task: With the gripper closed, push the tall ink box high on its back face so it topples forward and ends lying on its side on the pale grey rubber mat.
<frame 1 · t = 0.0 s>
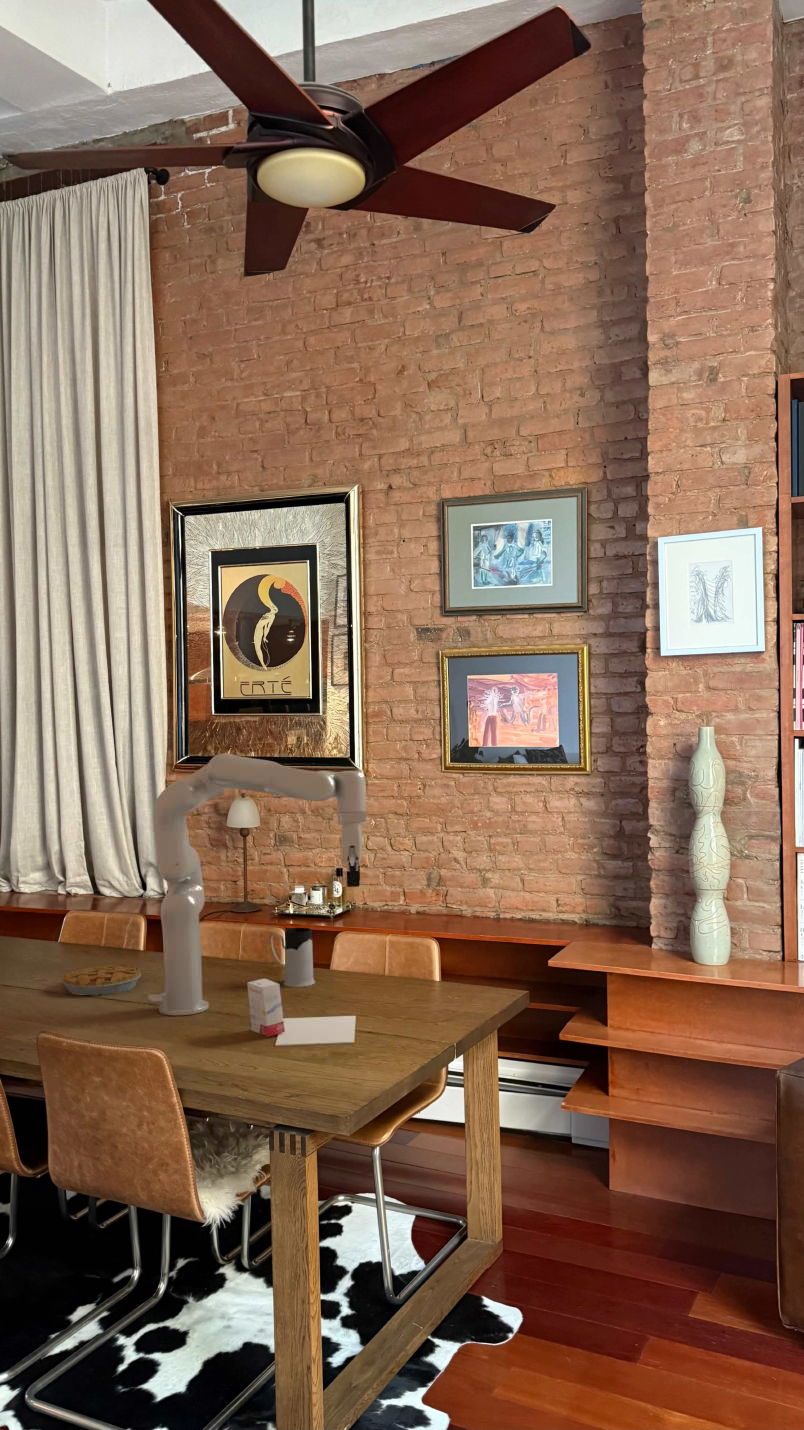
hand: (353, 883, 285), 31 cm above the table, tool pointing down, fingers open, 9 cm apart
pie: (102, 989, 311), on the table
tall grey black mug: (291, 983, 311), on the table
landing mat: (317, 1031, 261), on the table
ink box: (267, 1032, 261), on the table, touching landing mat
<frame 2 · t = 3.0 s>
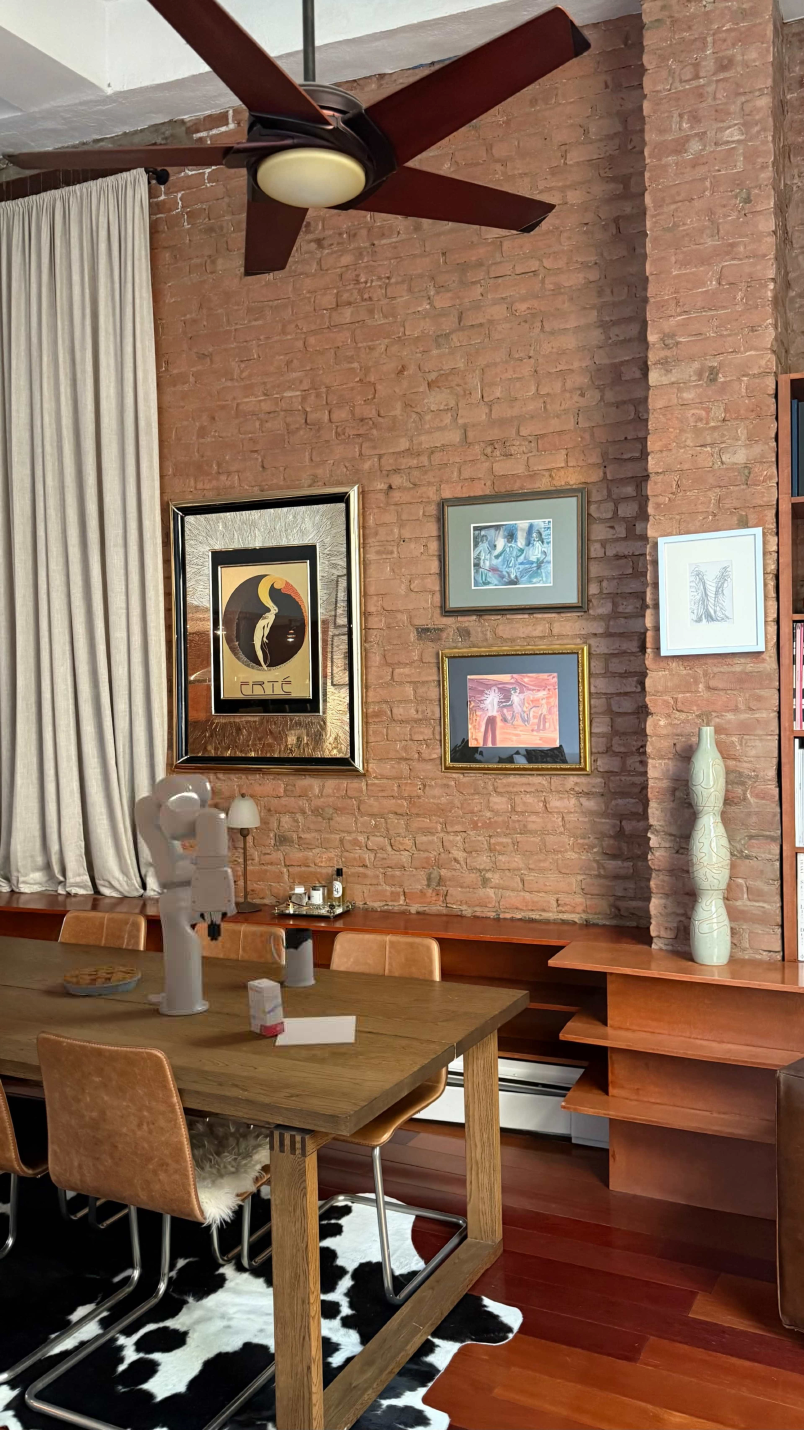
hand: (214, 939, 260), 23 cm above the table, tool pointing down, fingers closed
nothing on the table moved.
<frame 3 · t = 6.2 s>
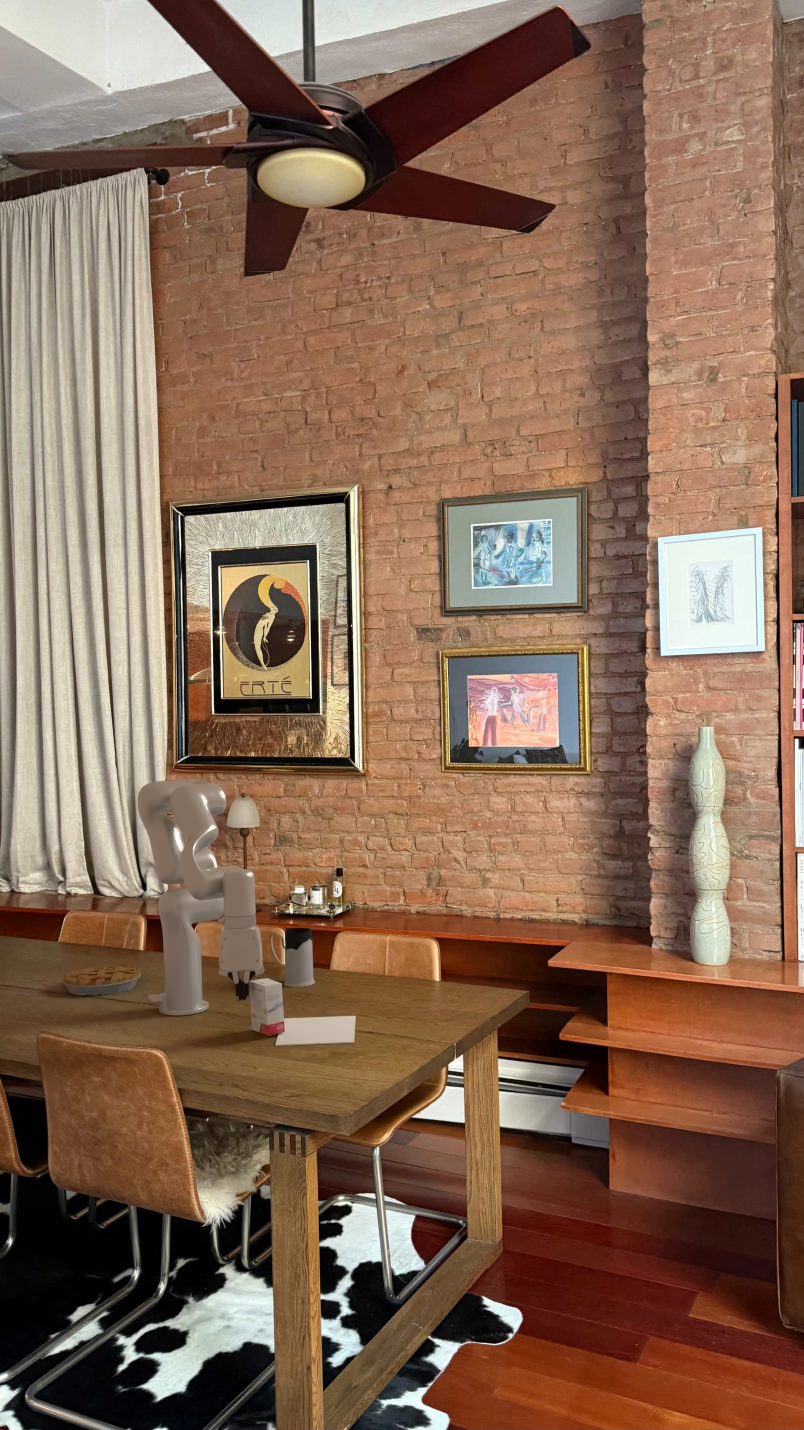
hand: (242, 999, 260), 8 cm above the table, tool pointing down, fingers closed
ink box: (267, 1032, 261), on the table, touching gripper, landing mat
everything else where it was.
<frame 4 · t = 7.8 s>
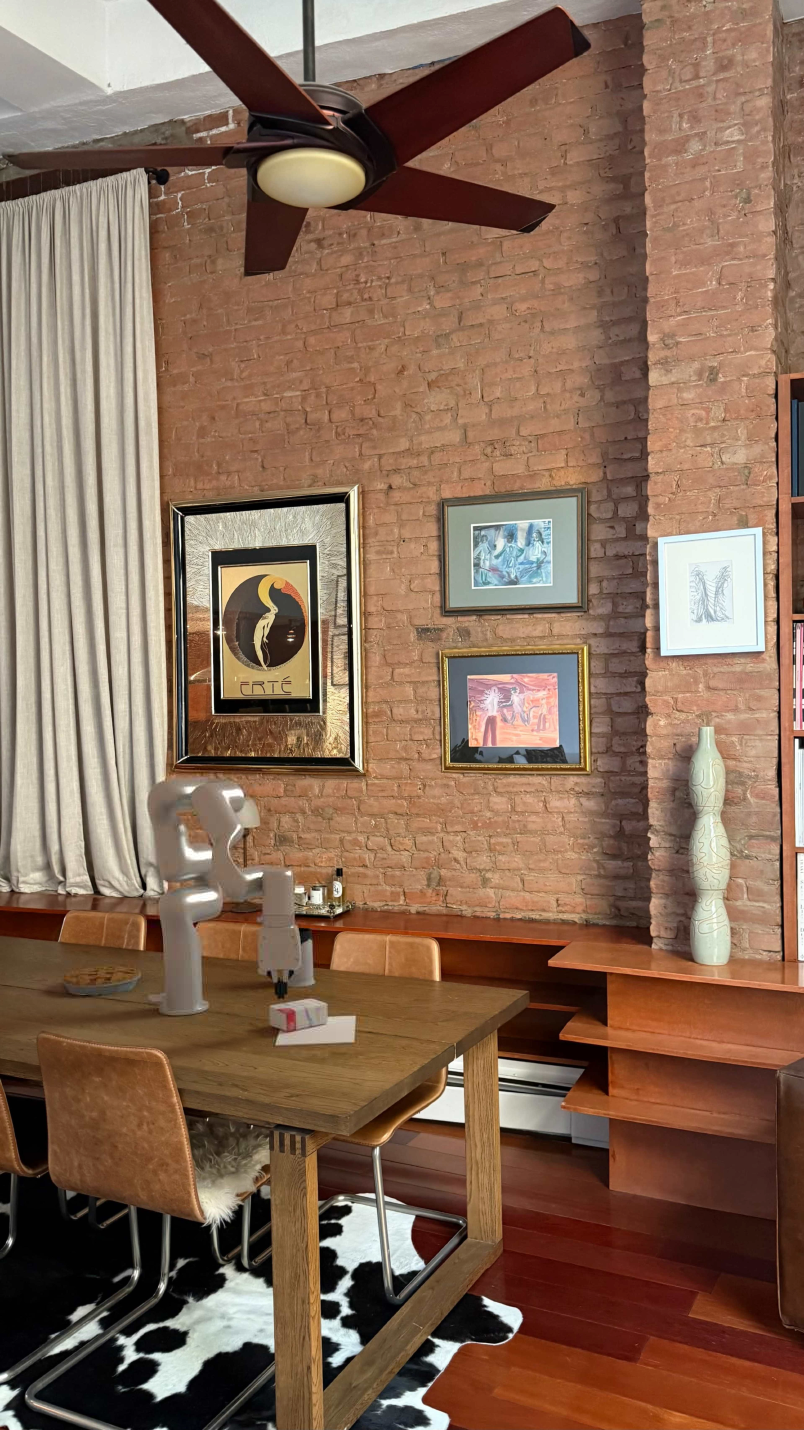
hand: (281, 997, 261), 8 cm above the table, tool pointing down, fingers closed
ink box: (276, 1018, 262), point 3 cm above the table, touching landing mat
everything else where it was.
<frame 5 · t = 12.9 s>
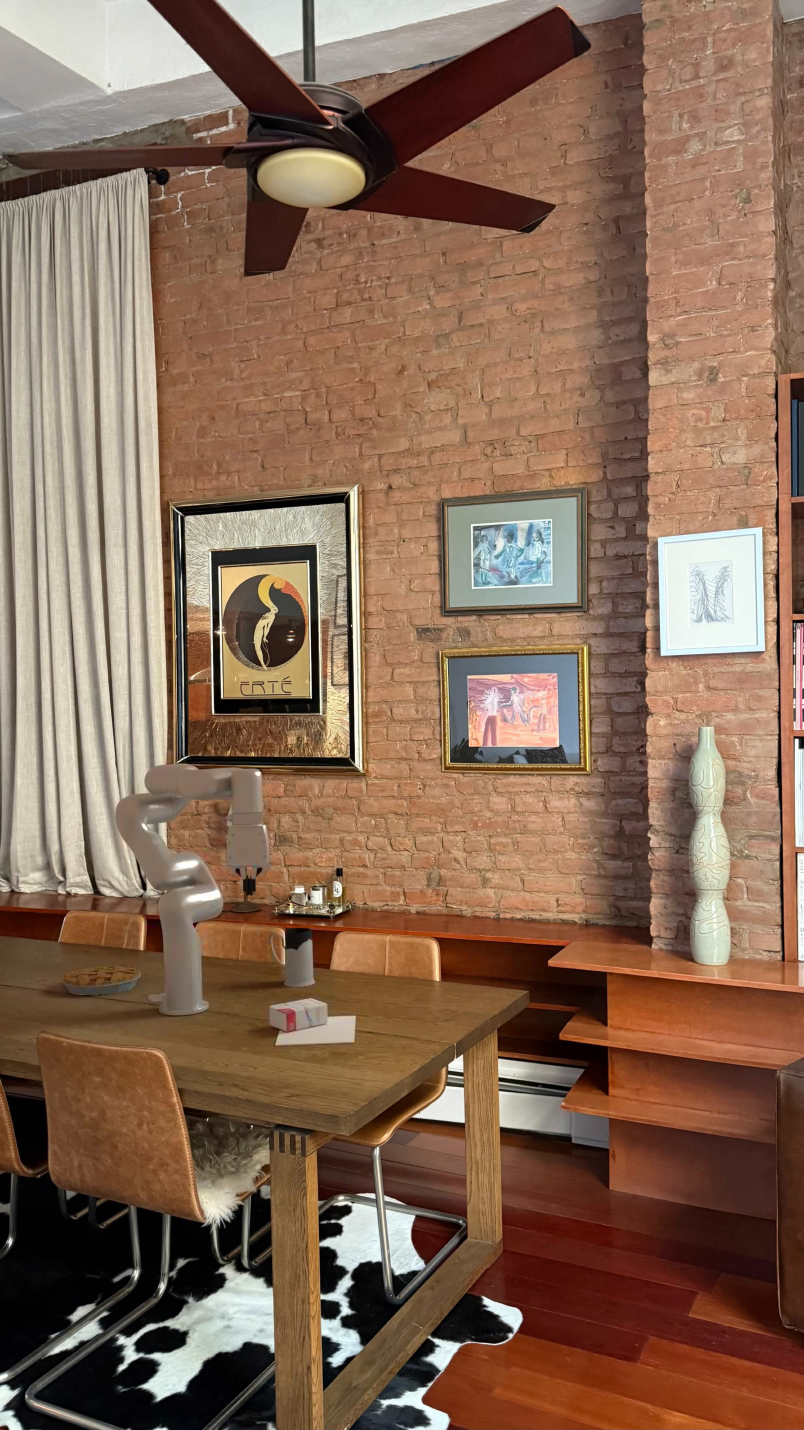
hand: (249, 894, 267), 32 cm above the table, tool pointing down, fingers closed
nothing on the table moved.
at the end: ink box tilted 91°; ink box touching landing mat; ink box inside the target area (3.7 cm from its centre), point 2.9 cm above the table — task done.
